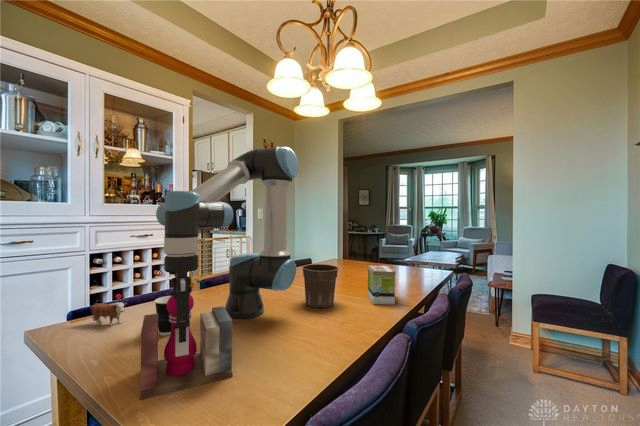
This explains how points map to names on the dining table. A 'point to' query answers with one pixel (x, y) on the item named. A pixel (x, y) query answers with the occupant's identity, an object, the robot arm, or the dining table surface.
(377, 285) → the tea box
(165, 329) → the dixie cup
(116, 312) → the bull figurine
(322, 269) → the plant pot
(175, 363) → the pepper mill
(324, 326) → the dining table surface
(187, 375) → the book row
